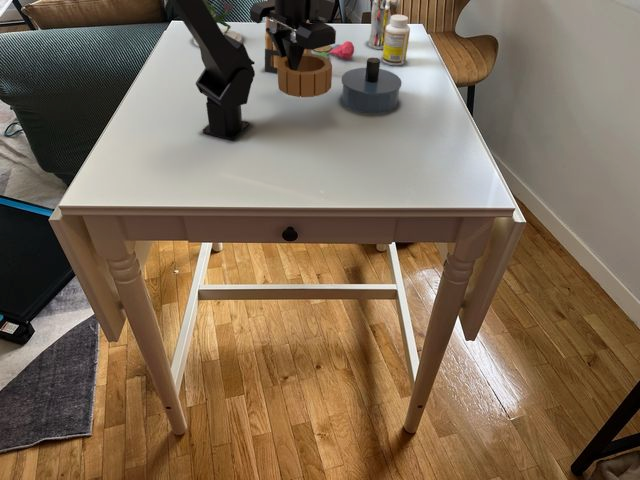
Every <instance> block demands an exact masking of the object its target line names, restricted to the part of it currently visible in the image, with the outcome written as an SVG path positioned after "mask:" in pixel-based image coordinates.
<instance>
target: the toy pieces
mask: <svg viewBox="0 0 640 480" xmlns="http://www.w3.org/2000/svg"><path fill="white" fill-rule="evenodd" d="M312 51H315V53H313V52H312V54H315V55H321V56H323V57H325V58H327V59H329V54H331V55H333V56H335V57H338V58H340V59H342V60H346V61H348V60H350V59H351V58H352V57H353V55H354V54H355V53H354V52H355V46H354V44H353V42H352V41H350V40H346V41H345V42H343V43H342V44H337V46H334V47H333V48H332V47H331V45H328V46H324V47H321V48H317V49H313V50H312ZM328 52H329V53H328Z"/></svg>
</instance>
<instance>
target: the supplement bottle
mask: <svg viewBox="0 0 640 480" xmlns="http://www.w3.org/2000/svg"><path fill="white" fill-rule="evenodd" d="M408 24H409V17H408V16H406V15H404V14H397V15H392V16H391V19H390V24H388V25H387V26H386V32H385V40H384V49H382V57H381V58H382V62H383V63H384V64H385V65H390V66H401V65H404V64H405V63H406V61H407V60H406V59H407V53H408V47H409V41H410V32H411V27H410V26H409V25H408Z"/></svg>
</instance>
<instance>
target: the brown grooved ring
mask: <svg viewBox="0 0 640 480" xmlns="http://www.w3.org/2000/svg"><path fill="white" fill-rule="evenodd" d="M277 68H278V73H277V85H278V90H279V91H280V92H282V93H283V94H286V95H288V96H293V97H297V98H314V97H318V96H322V95H324V94H327V93H328V92H329V91H330V90H331V88H332V79H333V78H332V77H333V64H332V61H331V60H330V59H329V58H328V59H327V58H325V57H323V56H321V55H315V54H313V53H312V54H308V53H304V54H303V55H302V58H301V61H300V63H299V66H298V69H297V71H294V70H291V69H290V66H289V63H288V59H287V56H285V57H283V58H281V59H280V60H279V61H278V62H277Z"/></svg>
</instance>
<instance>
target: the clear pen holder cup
mask: <svg viewBox="0 0 640 480" xmlns="http://www.w3.org/2000/svg"><path fill="white" fill-rule="evenodd" d="M400 2H401V0H370V23H371V24H370V25H371V26H370V27H371V28H370V35H369V38H368V41H367V42H368V46H369V47H370V48H372V49H375V50H383V49H384V40H385V32H386V26H387V25H388V24H390V19H391V16H392V15H398V12H399V8H400Z"/></svg>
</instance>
